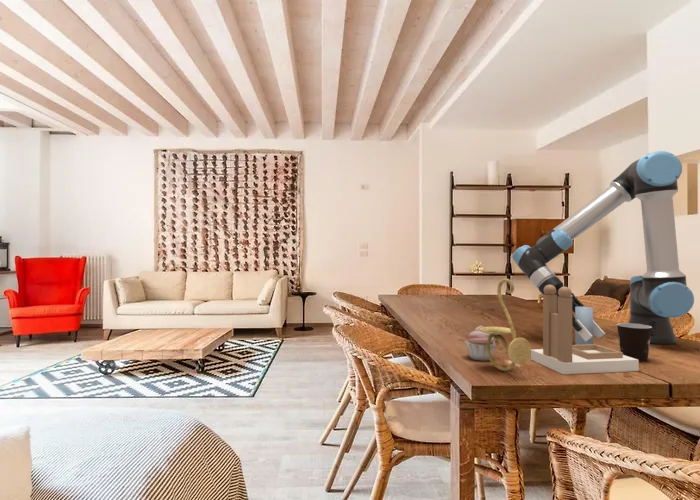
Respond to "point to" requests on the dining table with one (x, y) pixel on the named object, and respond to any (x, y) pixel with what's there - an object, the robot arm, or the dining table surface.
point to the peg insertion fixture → (559, 342)
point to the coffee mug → (634, 340)
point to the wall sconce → (519, 346)
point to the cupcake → (479, 345)
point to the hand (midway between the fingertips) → (595, 337)
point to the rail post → (584, 323)
